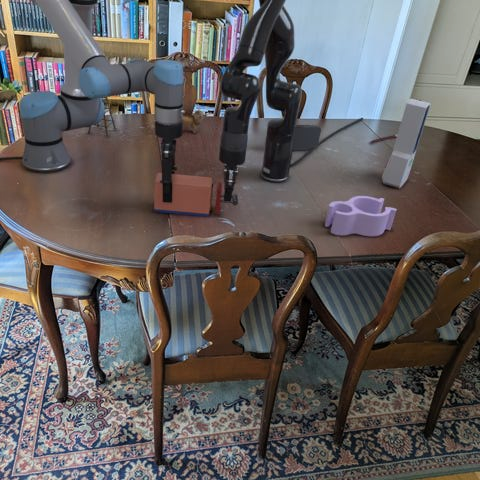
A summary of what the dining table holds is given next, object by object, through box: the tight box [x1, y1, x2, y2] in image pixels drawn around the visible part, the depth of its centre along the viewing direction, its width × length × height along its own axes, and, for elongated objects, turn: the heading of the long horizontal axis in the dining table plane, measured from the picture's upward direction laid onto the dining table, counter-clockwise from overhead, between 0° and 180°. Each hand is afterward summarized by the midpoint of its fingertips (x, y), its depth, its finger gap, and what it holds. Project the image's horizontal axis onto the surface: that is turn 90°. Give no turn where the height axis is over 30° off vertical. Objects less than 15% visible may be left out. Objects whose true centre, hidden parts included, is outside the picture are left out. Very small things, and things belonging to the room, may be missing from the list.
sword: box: [370, 133, 398, 145], centre depth 214 cm, size 31×3×1 cm, turn 126°
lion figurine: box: [181, 109, 204, 134], centre depth 195 cm, size 15×5×9 cm, turn 110°
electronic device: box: [381, 98, 432, 189], centre depth 166 cm, size 12×8×30 cm, turn 148°
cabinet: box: [153, 172, 213, 217], centre depth 139 cm, size 16×6×10 cm, turn 91°
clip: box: [324, 195, 398, 237], centre depth 141 cm, size 20×12×7 cm, turn 109°
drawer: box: [209, 181, 239, 214], centre depth 140 cm, size 20×5×8 cm, turn 91°
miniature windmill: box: [87, 97, 117, 137], centre depth 181 cm, size 9×8×30 cm
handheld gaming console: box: [291, 124, 322, 152], centre depth 189 cm, size 23×3×10 cm, turn 108°
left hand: (168, 196), depth 139 cm, fingers closed on cabinet, 6 cm apart
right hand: (227, 200), depth 140 cm, fingers closed
